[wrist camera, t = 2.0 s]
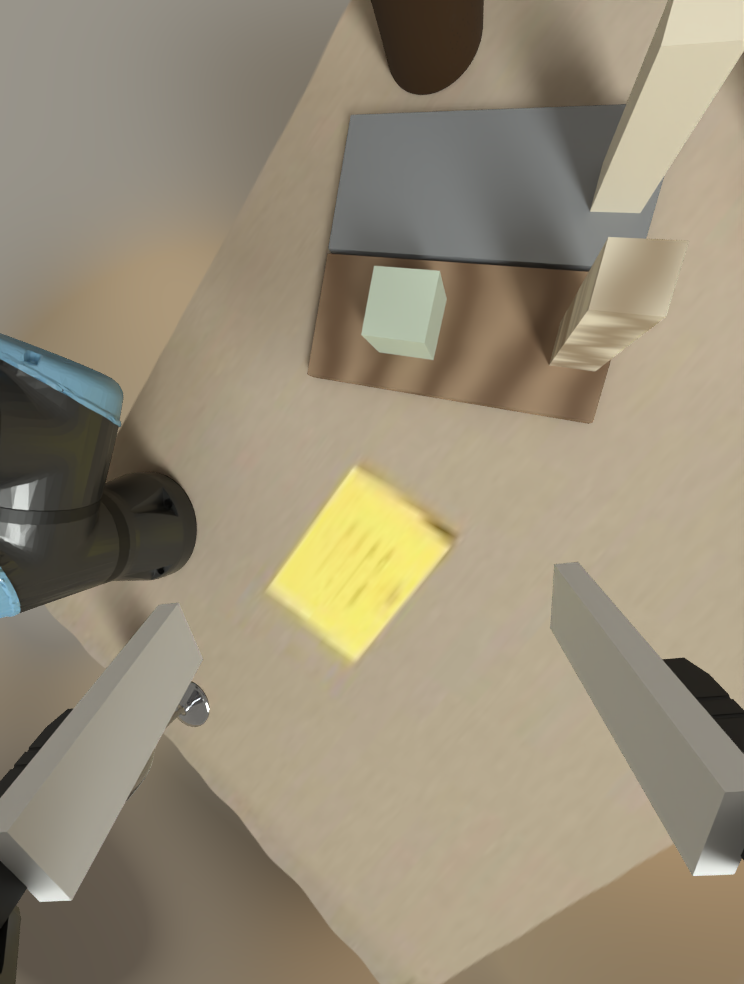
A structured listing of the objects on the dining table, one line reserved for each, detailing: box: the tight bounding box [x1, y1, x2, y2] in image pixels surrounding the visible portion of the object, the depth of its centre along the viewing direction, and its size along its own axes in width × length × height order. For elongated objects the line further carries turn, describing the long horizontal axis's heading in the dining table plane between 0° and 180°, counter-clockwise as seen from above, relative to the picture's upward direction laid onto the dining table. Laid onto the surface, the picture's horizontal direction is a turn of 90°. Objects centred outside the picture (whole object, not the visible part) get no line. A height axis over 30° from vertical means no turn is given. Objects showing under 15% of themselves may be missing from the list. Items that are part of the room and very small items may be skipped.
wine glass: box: [126, 682, 209, 801], centre depth 47 cm, size 8×8×15 cm
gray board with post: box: [328, 0, 744, 272], centre depth 29 cm, size 30×13×16 cm, turn 78°
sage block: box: [361, 266, 447, 360], centre depth 36 cm, size 6×6×6 cm
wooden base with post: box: [307, 237, 689, 424], centre depth 32 cm, size 30×13×16 cm, turn 78°
